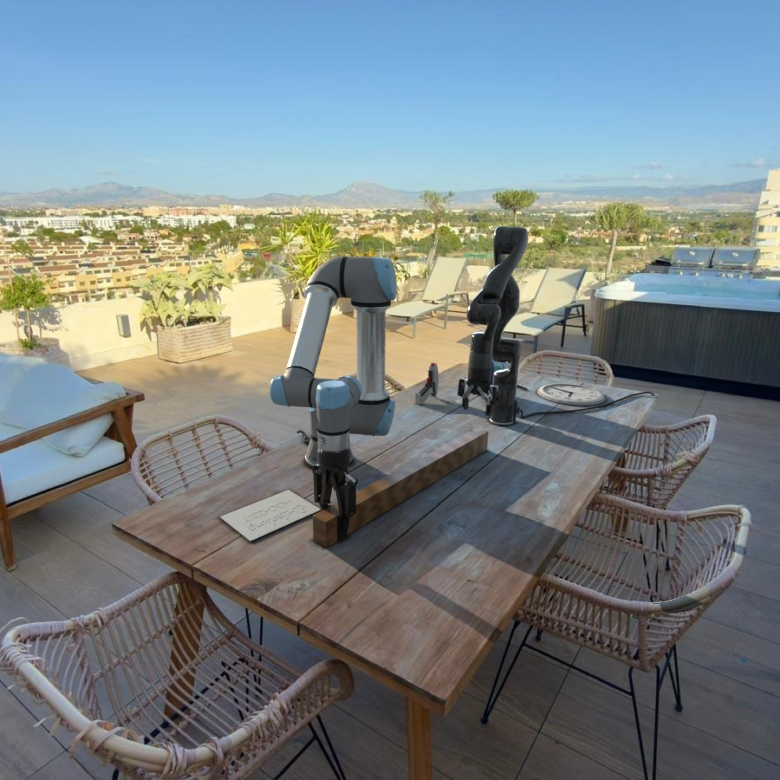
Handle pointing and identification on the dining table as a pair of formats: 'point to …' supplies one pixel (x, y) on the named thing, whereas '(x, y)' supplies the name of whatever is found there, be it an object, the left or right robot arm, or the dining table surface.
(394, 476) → the bar
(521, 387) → the ruler
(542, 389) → the wall clock
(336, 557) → the dining table surface
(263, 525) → the invitation card
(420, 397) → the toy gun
